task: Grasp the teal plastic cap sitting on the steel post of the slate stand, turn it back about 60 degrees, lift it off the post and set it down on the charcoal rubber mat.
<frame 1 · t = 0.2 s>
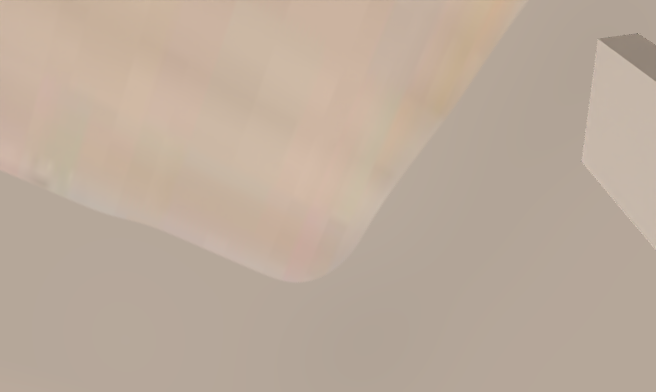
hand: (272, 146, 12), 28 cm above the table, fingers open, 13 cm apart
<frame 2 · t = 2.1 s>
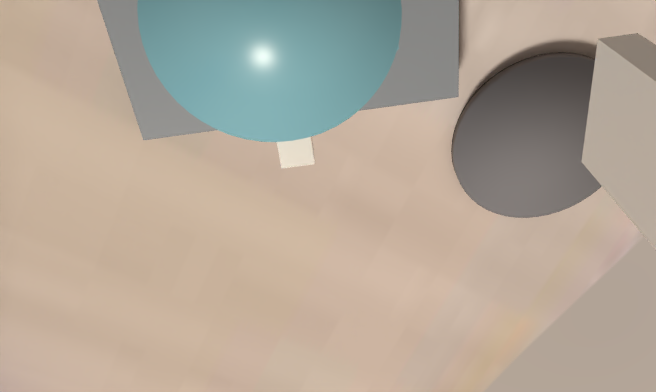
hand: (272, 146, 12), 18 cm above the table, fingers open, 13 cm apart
mat: (540, 138, 34), on the table
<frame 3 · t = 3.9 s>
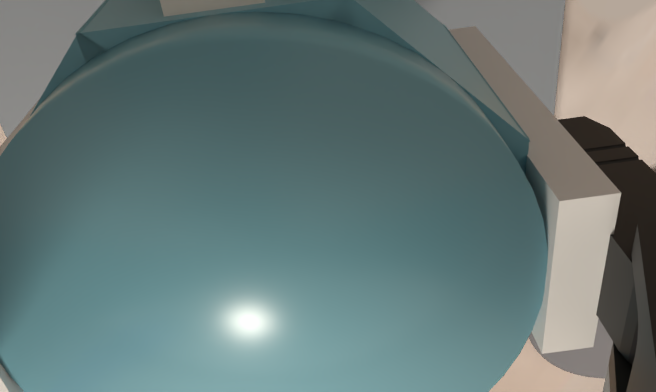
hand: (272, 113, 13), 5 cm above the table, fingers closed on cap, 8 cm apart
stand: (274, 38, 18), on the table
mat: (642, 283, 24), on the table
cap: (272, 120, 13), point 5 cm above the table, touching gripper, stand
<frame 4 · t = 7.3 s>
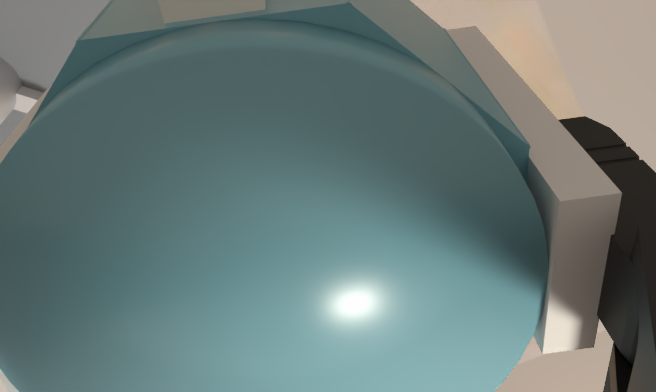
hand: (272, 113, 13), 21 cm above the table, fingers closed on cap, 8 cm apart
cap: (273, 123, 13), point 22 cm above the table, touching gripper
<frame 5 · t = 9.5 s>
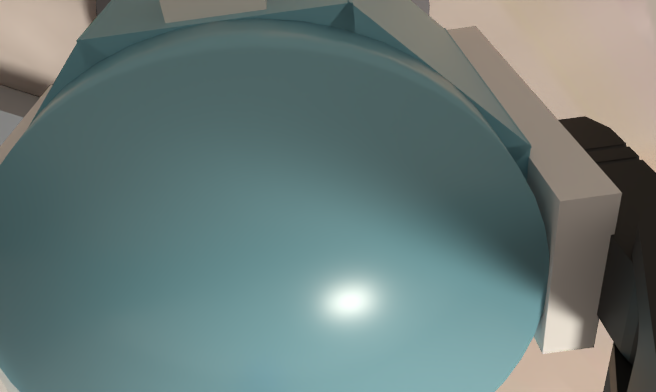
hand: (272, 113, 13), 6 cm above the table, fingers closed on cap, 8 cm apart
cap: (273, 123, 13), point 7 cm above the table, touching gripper
when the fingers open (2 cm above the table, at t = 11.1 s): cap drops 2 cm, resting on mat.
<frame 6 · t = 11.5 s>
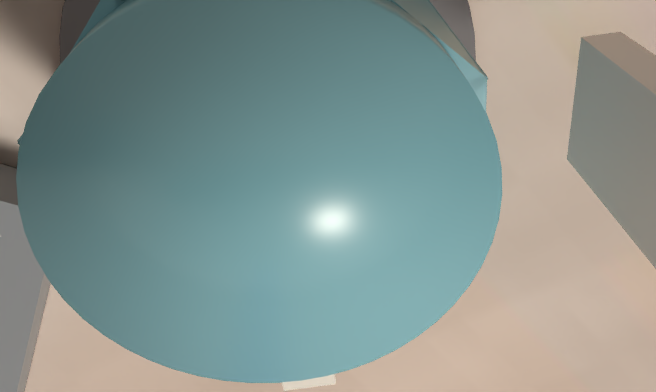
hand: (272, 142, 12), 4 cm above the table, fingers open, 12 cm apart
mat: (273, 76, 15), on the table
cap: (271, 81, 15), point 1 cm above the table, touching mat
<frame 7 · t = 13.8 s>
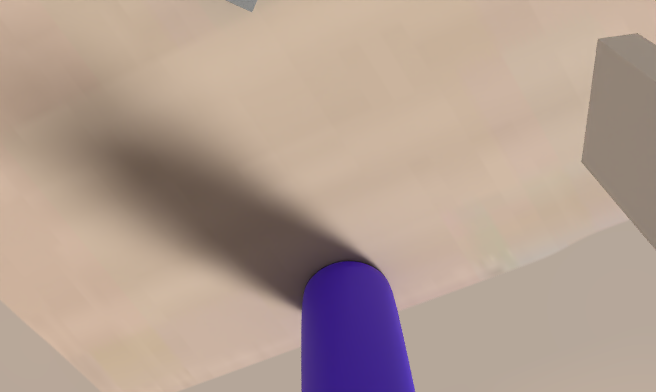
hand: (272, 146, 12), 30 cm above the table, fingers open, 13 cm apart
bottle: (346, 291, 54), on the table
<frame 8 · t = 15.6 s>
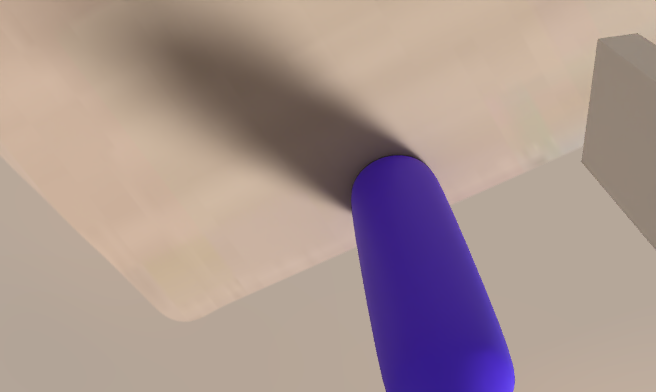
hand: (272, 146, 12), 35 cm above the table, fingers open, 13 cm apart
bottle: (393, 189, 55), on the table
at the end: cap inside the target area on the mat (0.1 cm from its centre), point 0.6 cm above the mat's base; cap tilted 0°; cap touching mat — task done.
